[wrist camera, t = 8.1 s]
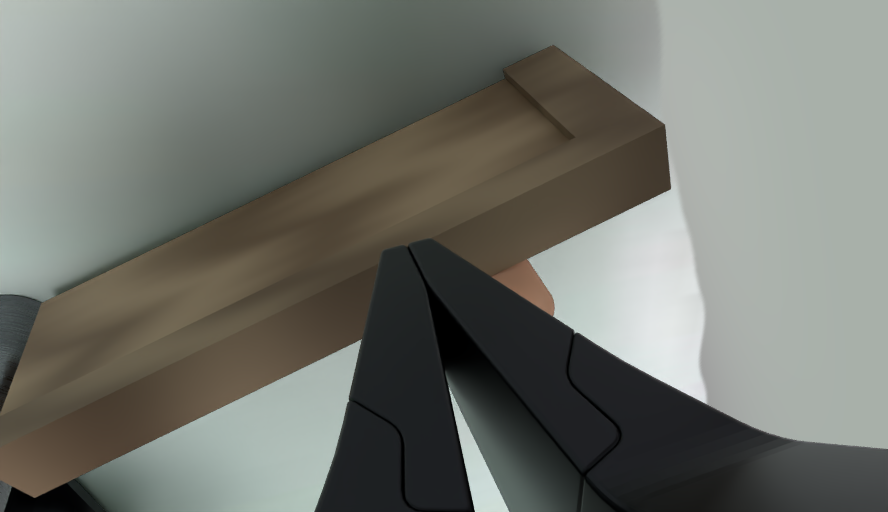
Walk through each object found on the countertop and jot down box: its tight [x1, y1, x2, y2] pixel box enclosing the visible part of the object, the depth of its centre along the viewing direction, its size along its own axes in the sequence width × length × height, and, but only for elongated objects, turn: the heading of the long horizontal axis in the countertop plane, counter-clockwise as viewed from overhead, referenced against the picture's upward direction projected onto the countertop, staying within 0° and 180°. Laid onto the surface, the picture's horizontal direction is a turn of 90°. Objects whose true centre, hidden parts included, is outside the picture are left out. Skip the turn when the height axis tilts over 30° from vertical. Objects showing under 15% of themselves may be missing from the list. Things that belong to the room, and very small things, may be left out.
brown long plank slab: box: [0, 45, 671, 498], centre depth 15 cm, size 16×2×6 cm, turn 111°
